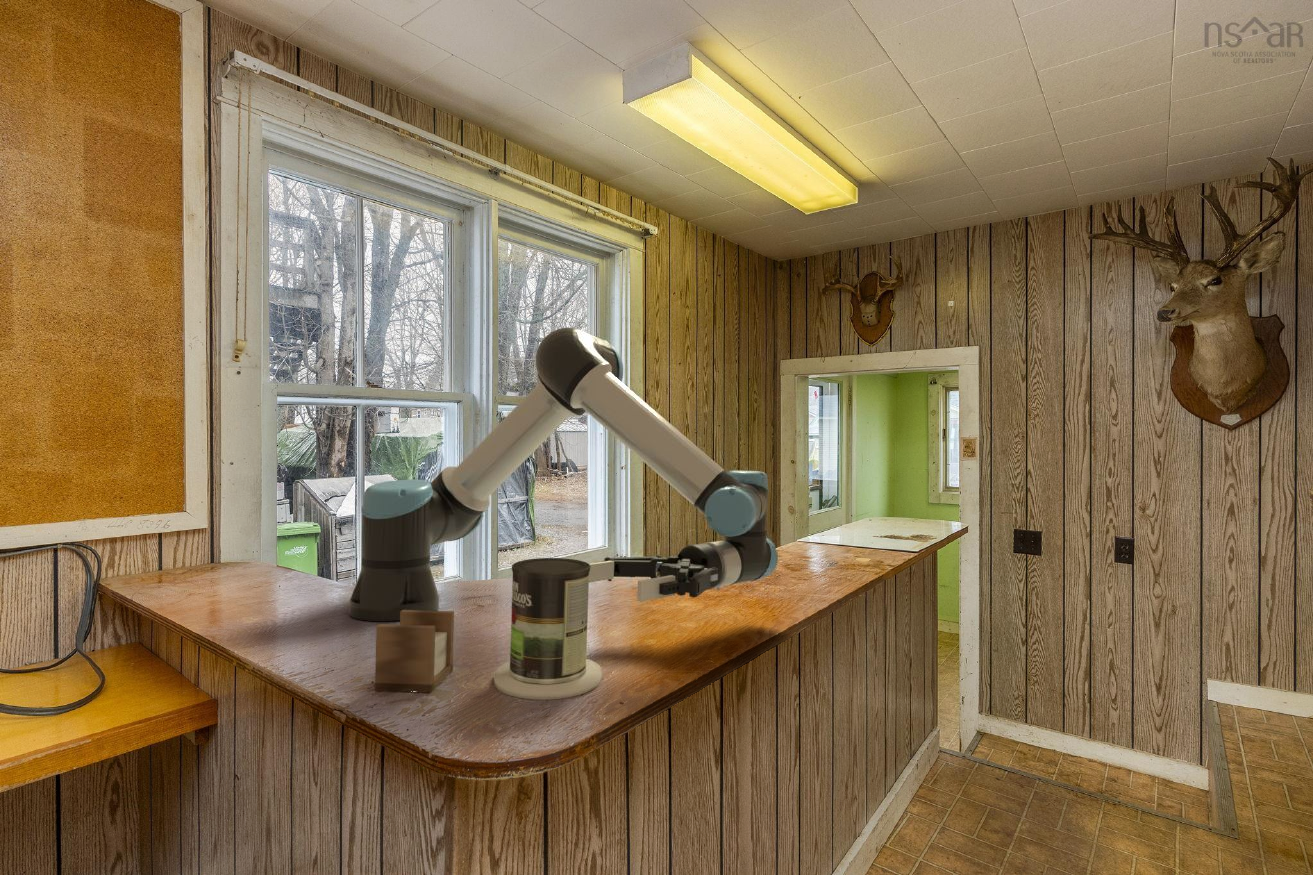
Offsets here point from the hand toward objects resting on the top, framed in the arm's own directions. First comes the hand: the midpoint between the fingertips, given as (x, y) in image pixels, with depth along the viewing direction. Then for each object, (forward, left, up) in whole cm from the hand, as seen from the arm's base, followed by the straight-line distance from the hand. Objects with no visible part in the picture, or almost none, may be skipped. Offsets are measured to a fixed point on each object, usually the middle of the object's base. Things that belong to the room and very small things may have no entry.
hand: (607, 582), depth 93 cm
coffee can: (-7, -7, -11) cm, 14 cm away
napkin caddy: (-24, -9, -12) cm, 28 cm away
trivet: (-7, -7, -12) cm, 15 cm away
